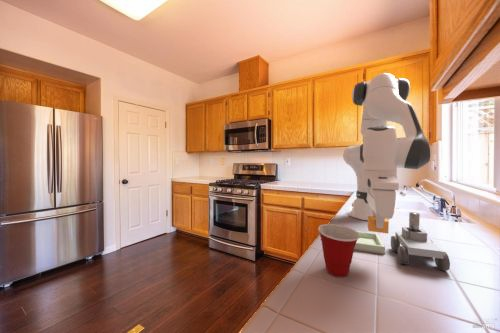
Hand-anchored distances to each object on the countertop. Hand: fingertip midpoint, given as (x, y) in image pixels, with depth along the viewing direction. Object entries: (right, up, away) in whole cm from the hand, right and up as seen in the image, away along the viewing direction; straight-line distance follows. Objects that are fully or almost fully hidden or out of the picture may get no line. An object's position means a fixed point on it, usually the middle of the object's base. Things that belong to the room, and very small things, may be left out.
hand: (377, 224), depth 64 cm
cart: (+13, -12, +2) cm, 18 cm away
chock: (0, -2, 0) cm, 2 cm away
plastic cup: (-14, -12, -5) cm, 19 cm away
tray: (+4, -11, +14) cm, 18 cm away
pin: (+14, -5, +4) cm, 16 cm away
